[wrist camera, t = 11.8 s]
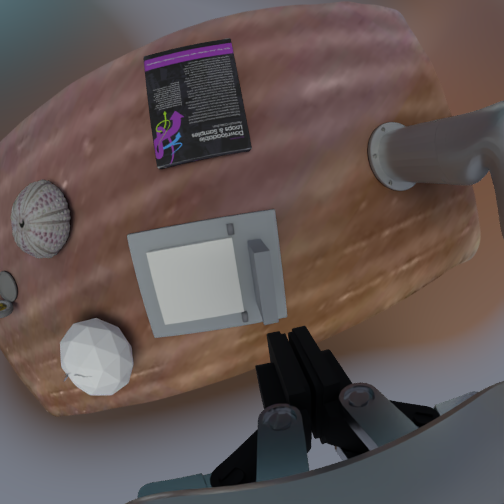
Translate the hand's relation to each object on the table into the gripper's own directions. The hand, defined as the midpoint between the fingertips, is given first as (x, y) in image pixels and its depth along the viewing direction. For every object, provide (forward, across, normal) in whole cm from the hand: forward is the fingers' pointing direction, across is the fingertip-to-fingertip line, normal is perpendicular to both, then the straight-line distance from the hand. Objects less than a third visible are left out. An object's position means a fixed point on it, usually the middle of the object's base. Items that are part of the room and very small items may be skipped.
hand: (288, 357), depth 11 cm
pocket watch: (+32, +50, +3) cm, 60 cm away
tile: (+30, +7, +6) cm, 31 cm away
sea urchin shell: (+32, +33, -9) cm, 47 cm away
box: (+33, +4, -22) cm, 39 cm away
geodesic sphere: (+32, +27, +15) cm, 45 cm away
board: (+32, +6, +6) cm, 33 cm away
